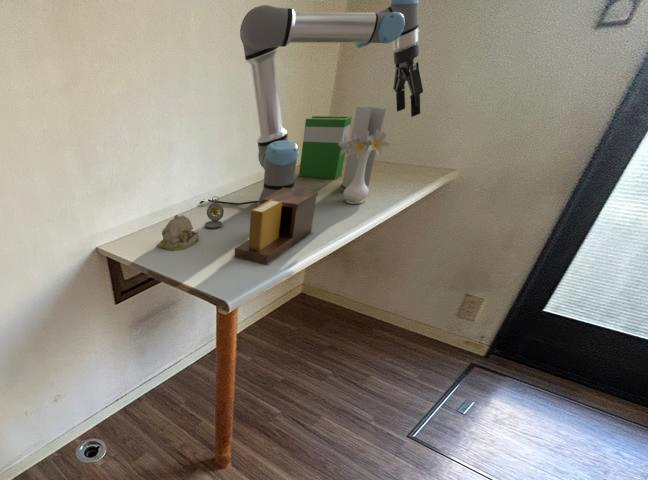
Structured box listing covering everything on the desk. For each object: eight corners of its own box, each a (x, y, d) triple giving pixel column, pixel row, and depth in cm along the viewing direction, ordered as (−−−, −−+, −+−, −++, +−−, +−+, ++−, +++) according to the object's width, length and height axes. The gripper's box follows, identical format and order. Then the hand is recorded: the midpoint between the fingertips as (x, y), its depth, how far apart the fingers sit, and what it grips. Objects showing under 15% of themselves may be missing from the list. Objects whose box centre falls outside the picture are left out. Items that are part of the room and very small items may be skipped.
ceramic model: (172, 253, 144) (171, 224, 138) (153, 245, 151) (151, 217, 145) (203, 241, 150) (202, 213, 143) (183, 233, 157) (182, 206, 151)
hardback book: (298, 175, 202) (305, 119, 187) (305, 172, 206) (312, 116, 191) (335, 179, 192) (345, 119, 177) (341, 175, 196) (352, 116, 181)
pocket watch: (208, 230, 157) (208, 203, 151) (200, 223, 164) (200, 197, 157) (228, 226, 158) (229, 199, 152) (219, 220, 165) (220, 193, 159)
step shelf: (233, 256, 137) (235, 213, 128) (279, 227, 153) (283, 187, 144) (267, 264, 130) (271, 220, 121) (311, 233, 146) (318, 191, 137)
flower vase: (338, 194, 175) (351, 126, 160) (382, 201, 164) (401, 128, 148) (322, 202, 169) (333, 133, 154) (366, 210, 158) (383, 136, 142)
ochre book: (248, 248, 134) (250, 210, 126) (267, 236, 140) (271, 199, 132) (259, 250, 131) (262, 212, 124) (278, 238, 138) (282, 200, 130)
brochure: (367, 192, 173) (386, 108, 154) (353, 193, 174) (371, 110, 155) (354, 183, 184) (371, 104, 166) (342, 184, 185) (356, 105, 166)
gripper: (434, 42, 134) (434, 112, 146) (403, 41, 154) (405, 103, 166) (408, 53, 137) (410, 122, 149) (381, 51, 156) (385, 112, 168)
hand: (408, 112), depth 157 cm, fingers open, 13 cm apart
